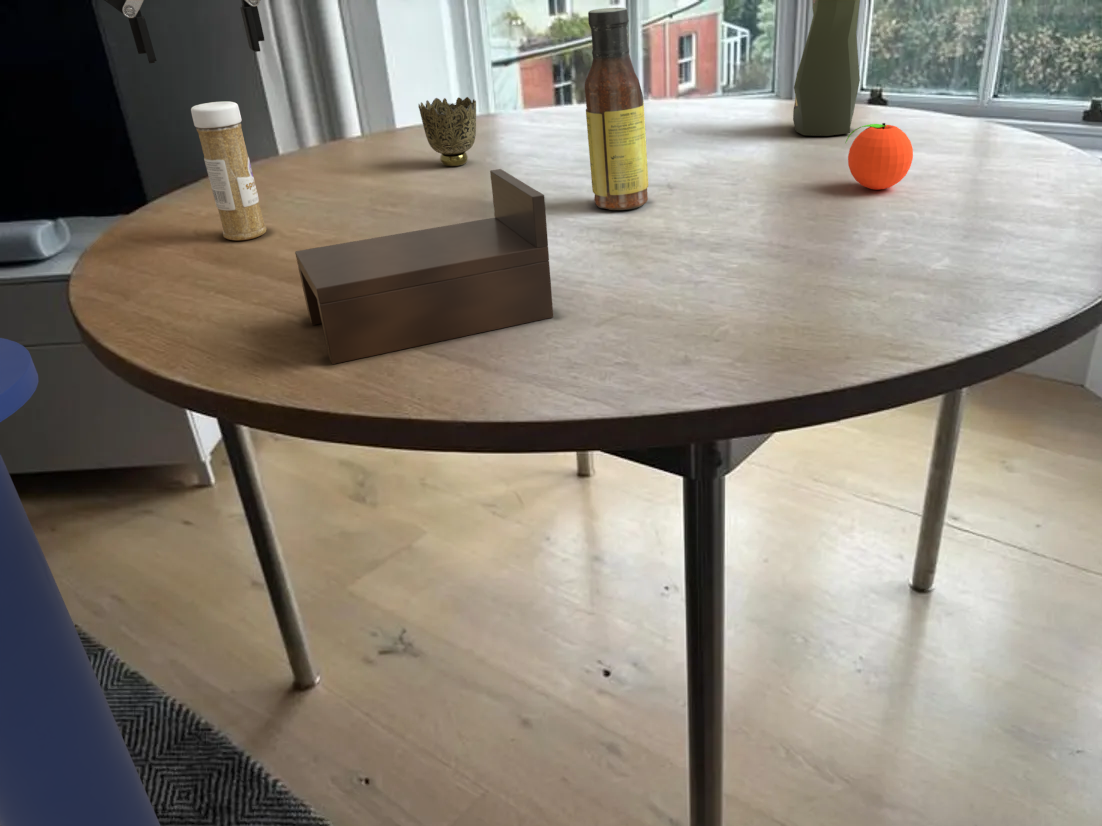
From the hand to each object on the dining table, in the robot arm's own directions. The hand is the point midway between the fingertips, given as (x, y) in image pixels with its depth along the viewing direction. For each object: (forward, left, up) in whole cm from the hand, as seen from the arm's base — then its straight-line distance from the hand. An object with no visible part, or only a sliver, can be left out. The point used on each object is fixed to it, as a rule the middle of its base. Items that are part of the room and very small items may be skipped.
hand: (204, 55), depth 91 cm
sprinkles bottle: (0, 0, -18) cm, 18 cm away
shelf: (+11, -34, -18) cm, 40 cm away
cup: (+29, +18, -18) cm, 38 cm away
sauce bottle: (+39, -12, -18) cm, 44 cm away
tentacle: (+79, +5, -18) cm, 81 cm away
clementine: (+66, -22, -18) cm, 72 cm away
